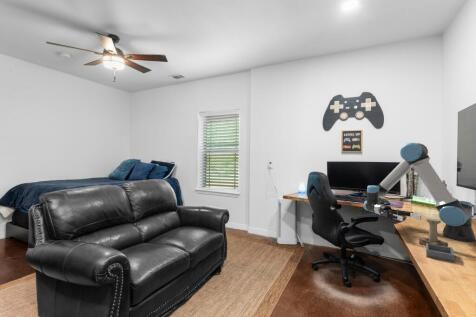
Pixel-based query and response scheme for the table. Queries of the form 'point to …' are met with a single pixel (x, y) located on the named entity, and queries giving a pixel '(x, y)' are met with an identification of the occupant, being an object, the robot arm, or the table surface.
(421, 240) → the collar
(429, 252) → the tray
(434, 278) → the table surface
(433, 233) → the handle
